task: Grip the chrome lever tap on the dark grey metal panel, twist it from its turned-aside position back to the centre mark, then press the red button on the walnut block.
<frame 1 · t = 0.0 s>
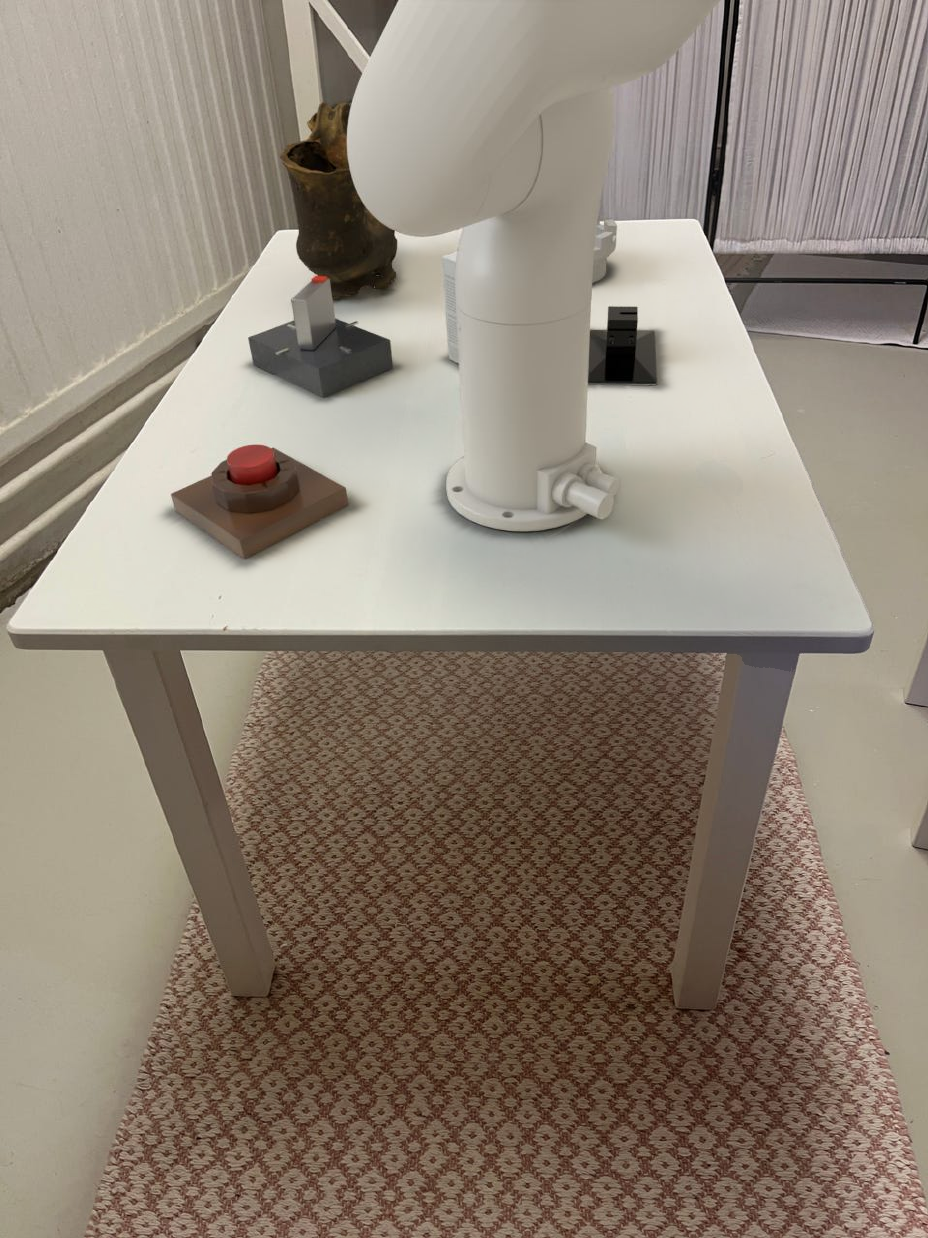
black stand: (619, 359, 94), on the table
pottery vessel: (355, 284, 114), on the table
button: (252, 465, 72), point 4 cm above the table, slide at 0.1 cm
small box: (494, 358, 95), on the table
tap: (314, 312, 92), point 6 cm above the table, hinge at -60.0°
tap panel: (322, 366, 95), on the table
button block: (261, 508, 75), on the table
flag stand: (560, 273, 114), on the table
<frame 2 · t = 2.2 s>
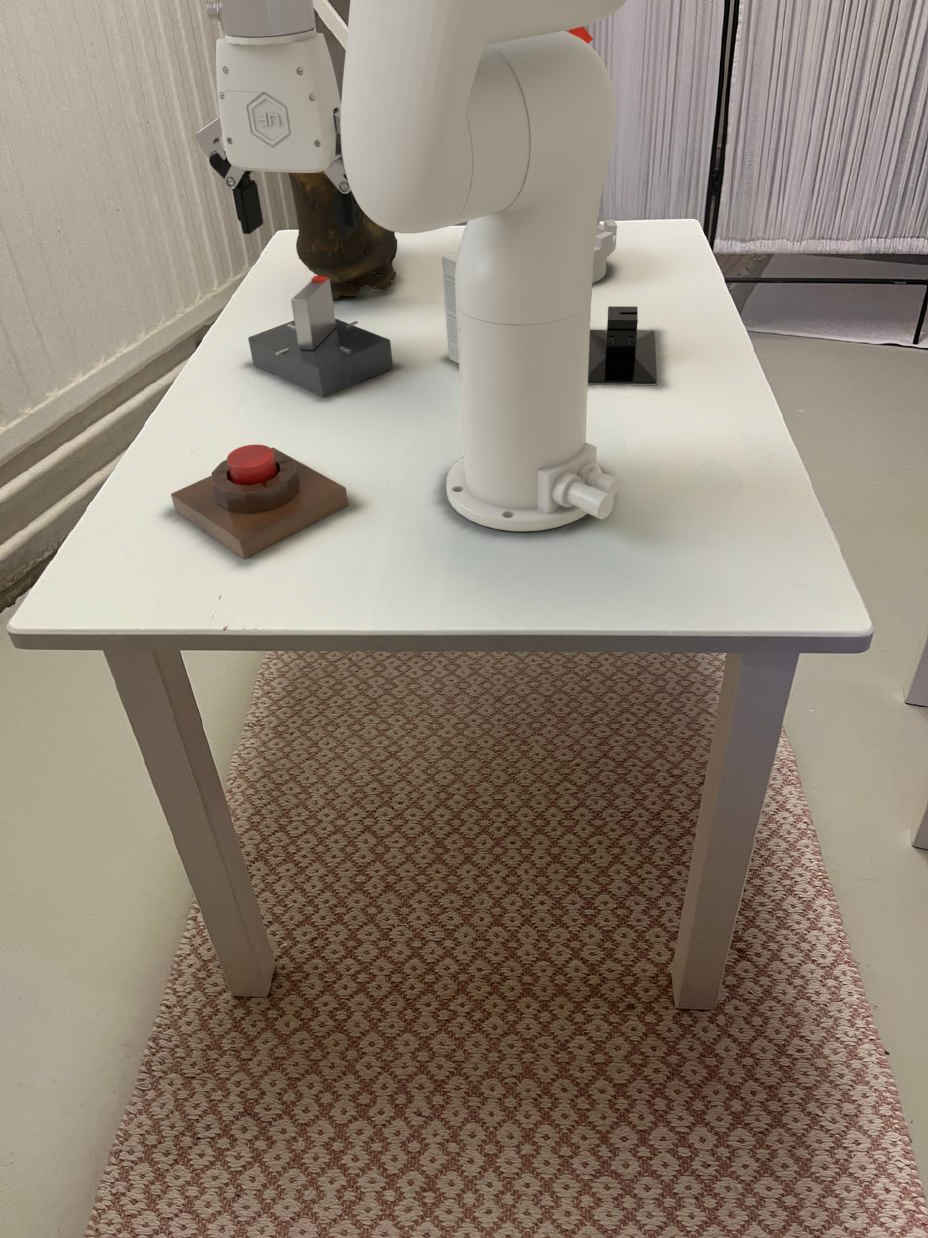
hand: (300, 231, 87), 13 cm above the table, tool pointing down, fingers open, 9 cm apart
nothing on the table moved.
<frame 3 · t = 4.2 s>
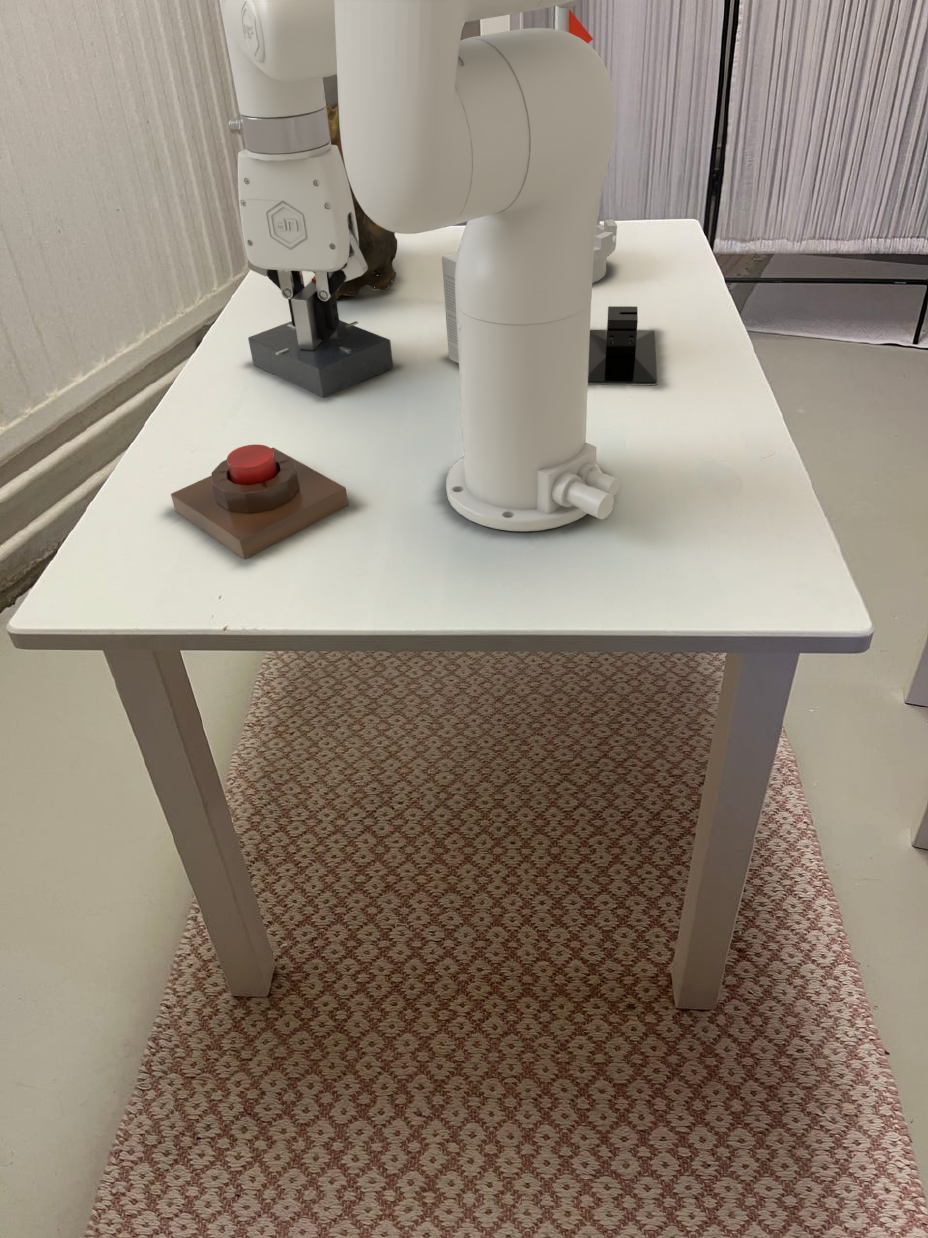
hand: (317, 333, 93), 4 cm above the table, tool pointing down, fingers closed on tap
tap: (314, 312, 92), point 6 cm above the table, hinge at -60.0°, touching gripper
everything else where it was.
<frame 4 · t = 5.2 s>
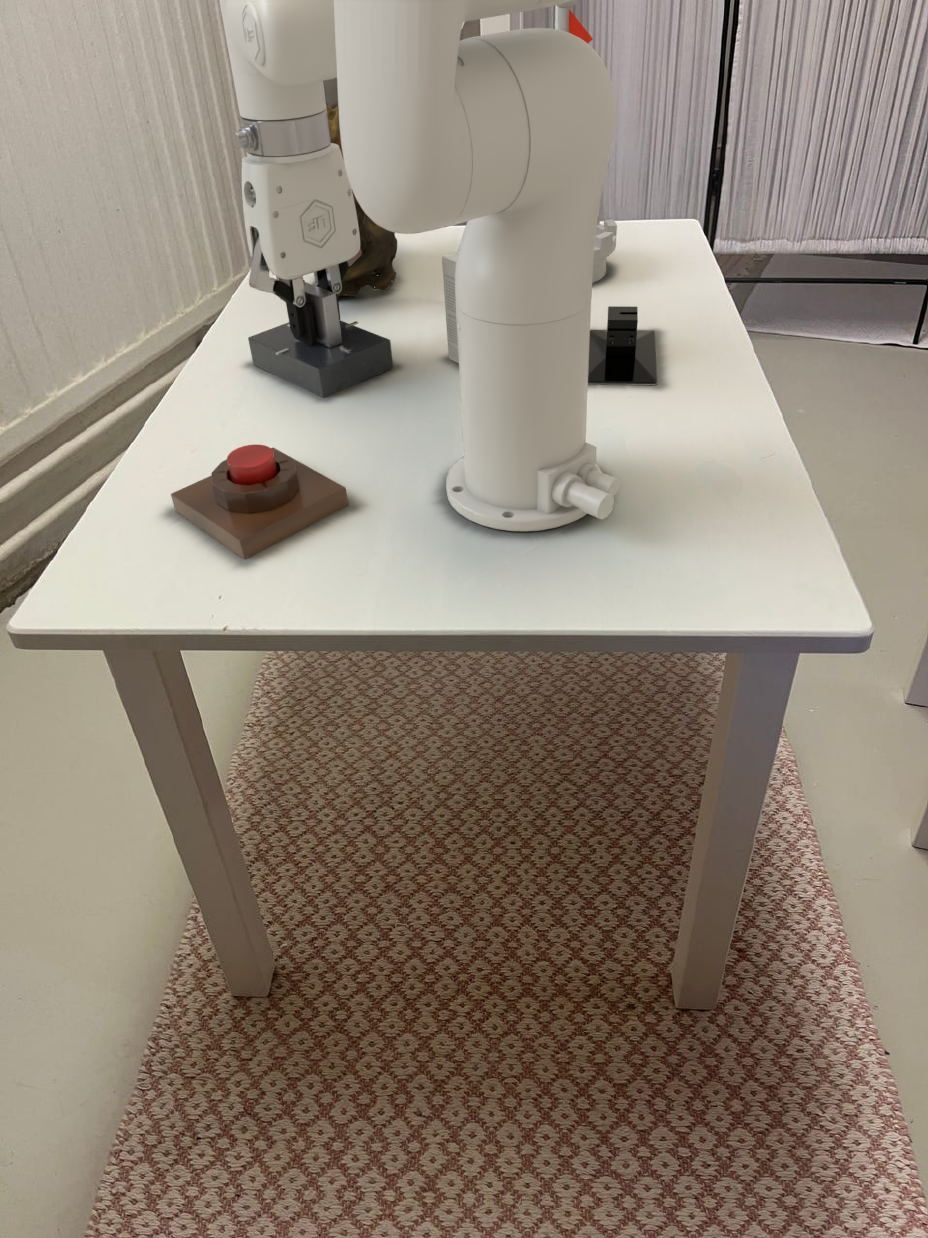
hand: (317, 334, 93), 3 cm above the table, tool pointing down, fingers closed
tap: (314, 312, 92), point 6 cm above the table, hinge at -0.4°
everything else where it was.
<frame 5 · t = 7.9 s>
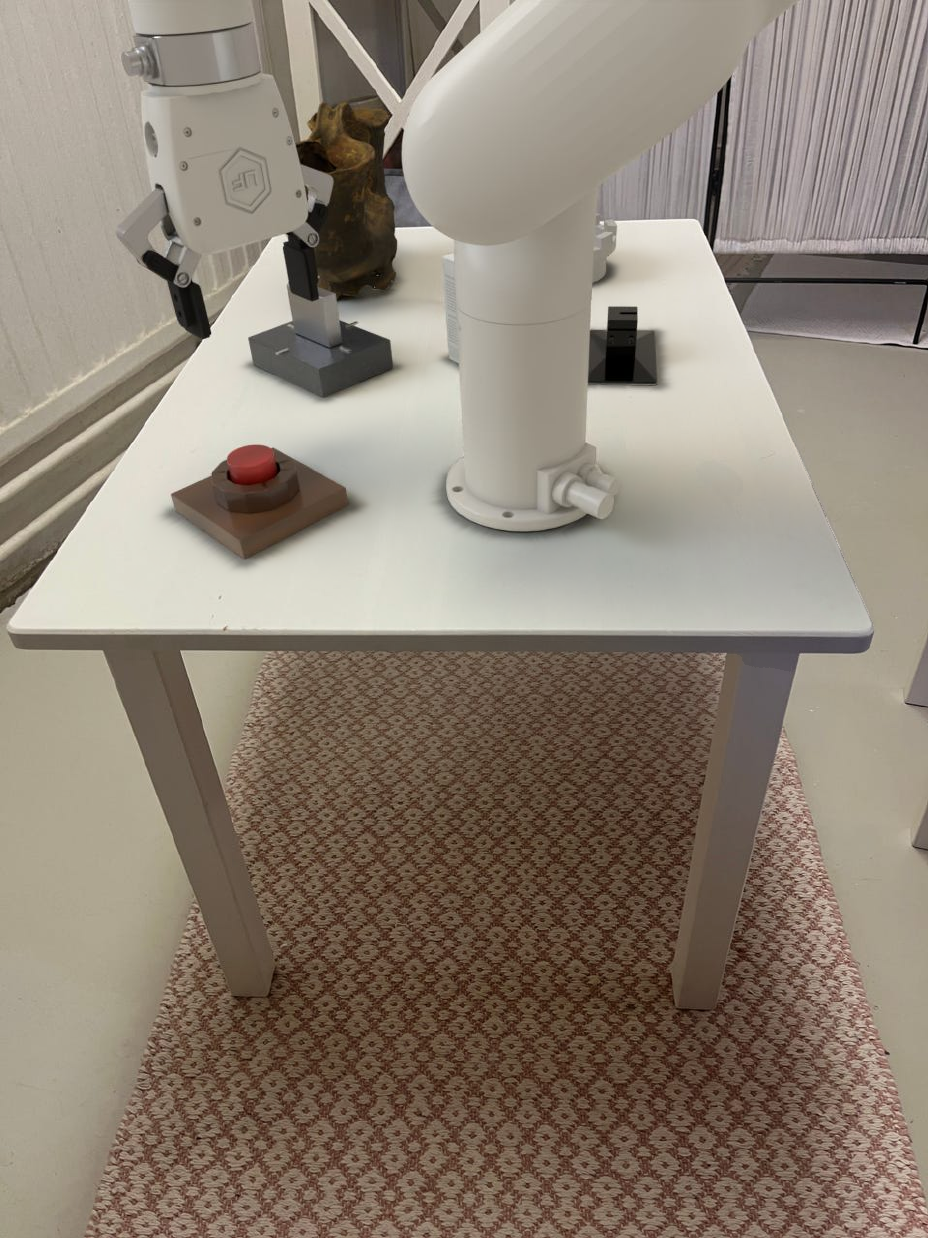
hand: (253, 314, 72), 13 cm above the table, tool pointing down, fingers open, 9 cm apart
nothing on the table moved.
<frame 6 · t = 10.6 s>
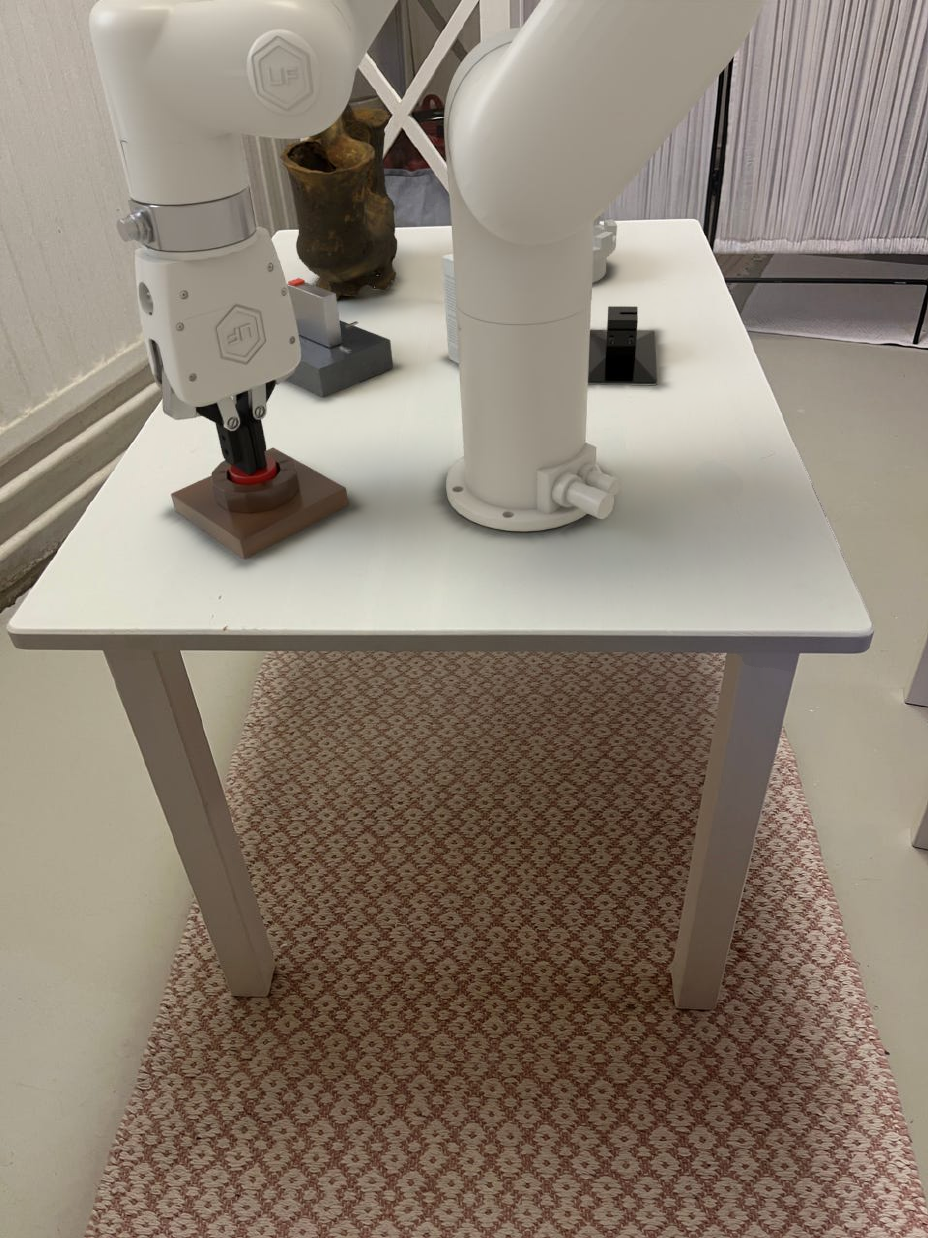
hand: (247, 465, 72), 4 cm above the table, tool pointing down, fingers closed
button: (254, 475, 73), point 3 cm above the table, slide at -0.8 cm, touching gripper
everything else where it was.
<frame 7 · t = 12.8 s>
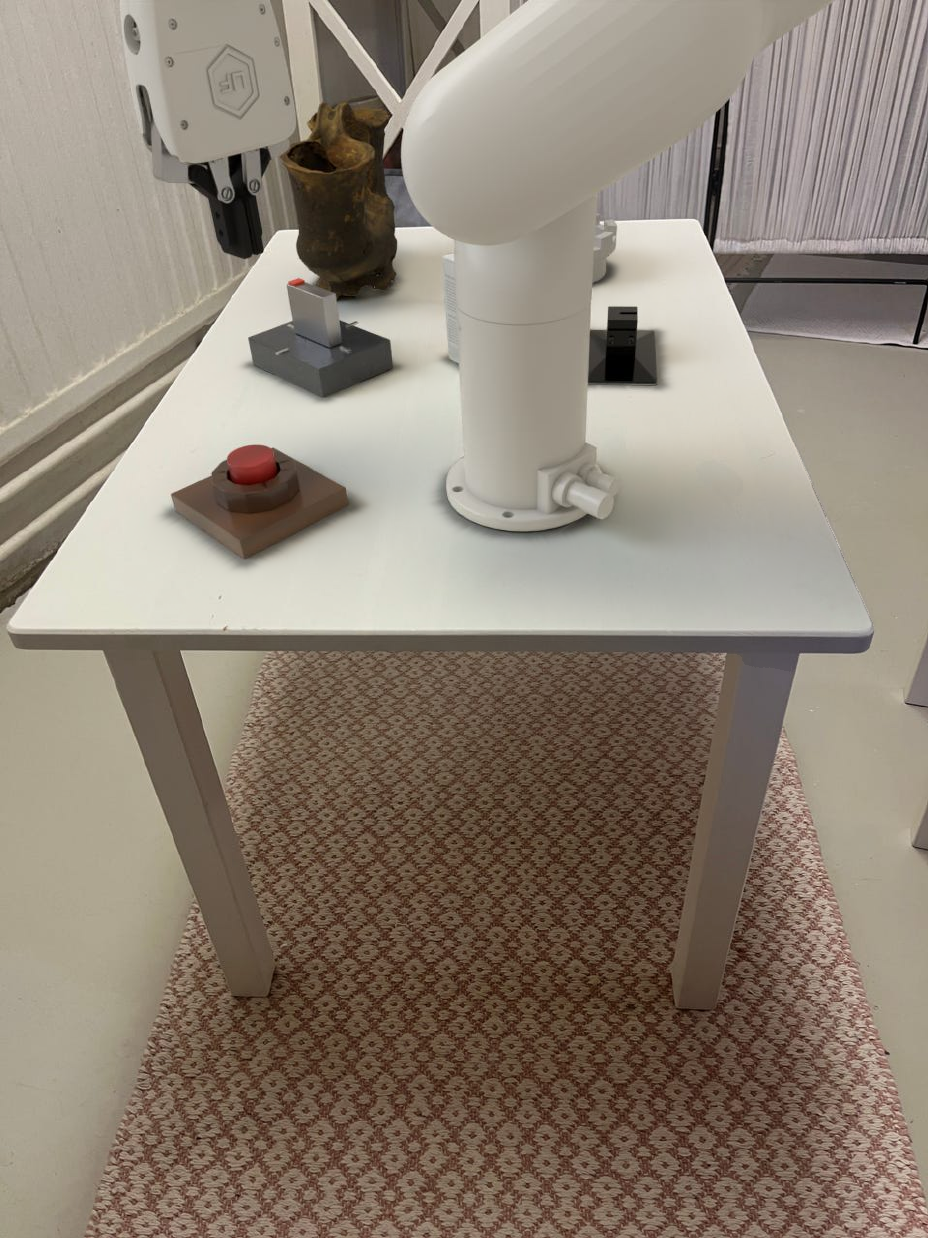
hand: (243, 252, 69), 18 cm above the table, tool pointing down, fingers closed
button: (252, 465, 72), point 4 cm above the table, slide at 0.1 cm
everything else where it was.
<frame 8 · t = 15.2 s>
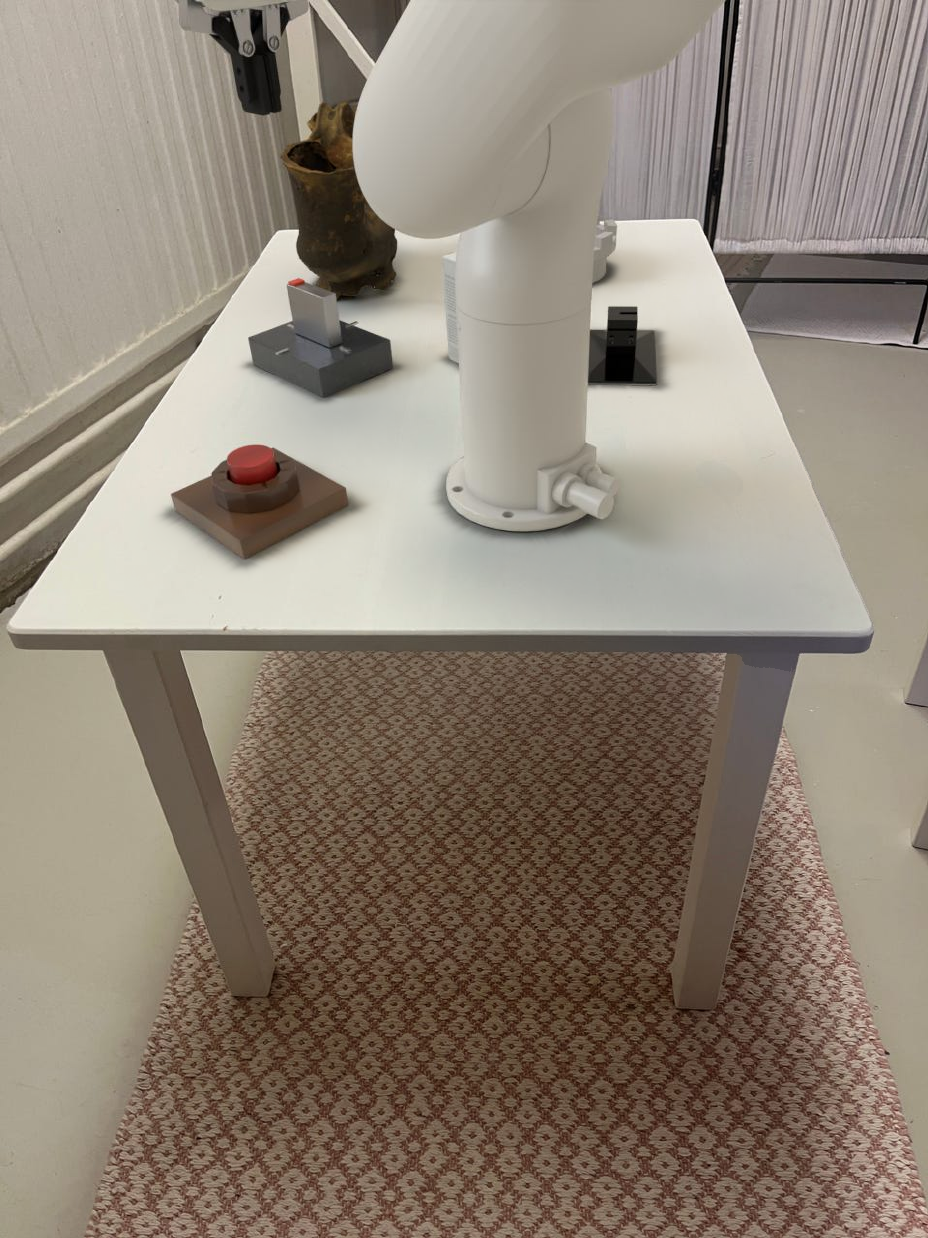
hand: (262, 111, 73), 25 cm above the table, tool pointing down, fingers closed
nothing on the table moved.
at the end: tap at +0° (first picture: -60°); button pushed in 1.0 cm at the most during the clip, back to where it started at the end; button slide at 0.1 cm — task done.
